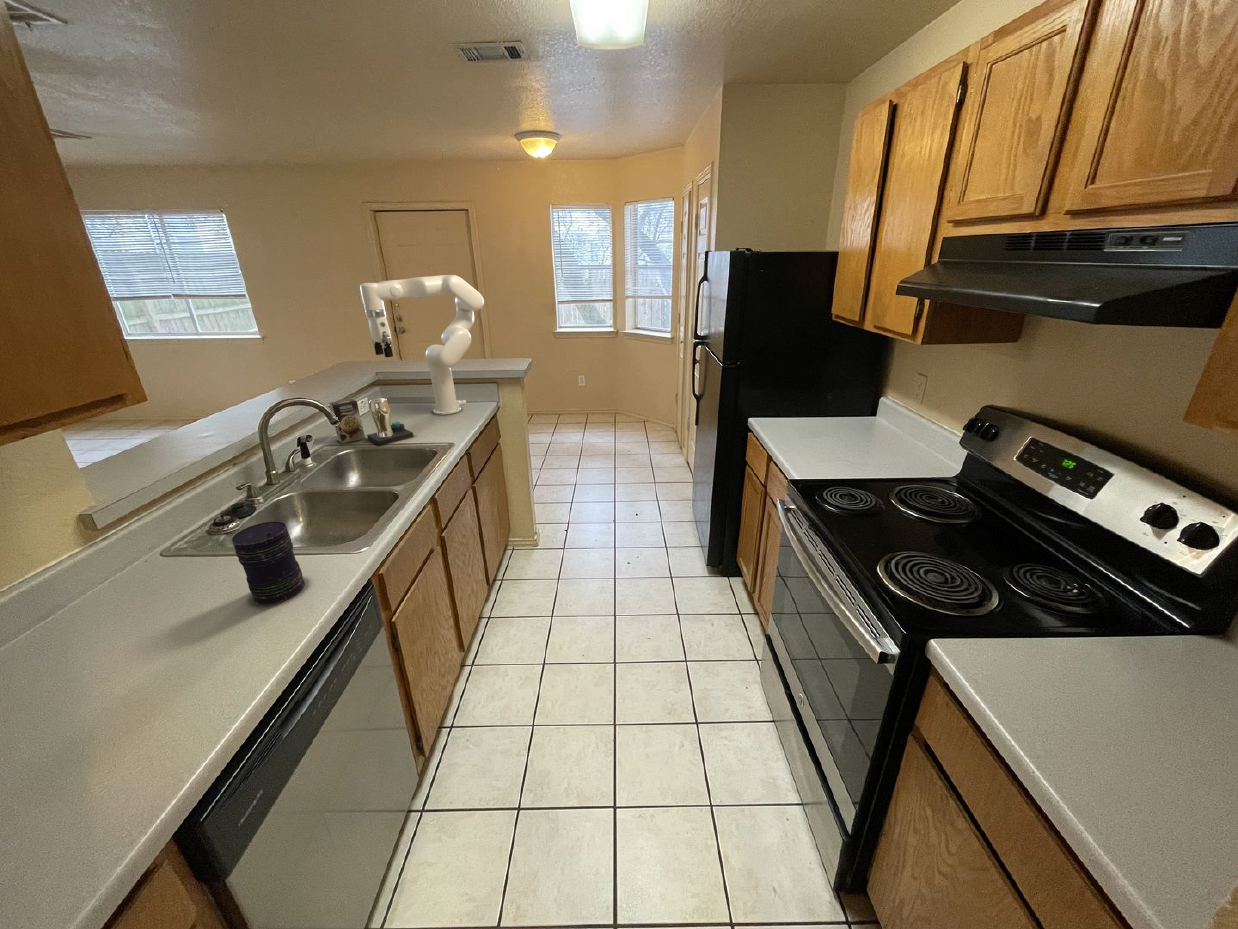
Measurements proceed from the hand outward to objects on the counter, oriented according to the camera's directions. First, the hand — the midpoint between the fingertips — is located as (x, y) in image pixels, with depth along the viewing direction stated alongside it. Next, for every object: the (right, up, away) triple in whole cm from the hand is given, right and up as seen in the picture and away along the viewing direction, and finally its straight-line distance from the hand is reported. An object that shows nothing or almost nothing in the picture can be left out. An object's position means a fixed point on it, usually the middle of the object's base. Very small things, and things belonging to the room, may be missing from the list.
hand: (384, 355), depth 217 cm
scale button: (+7, -31, -3) cm, 32 cm away
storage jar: (+25, -75, -104) cm, 131 cm away
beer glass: (+6, -35, -11) cm, 37 cm away
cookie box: (-10, -36, -8) cm, 39 cm away
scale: (+6, -36, -7) cm, 37 cm away
